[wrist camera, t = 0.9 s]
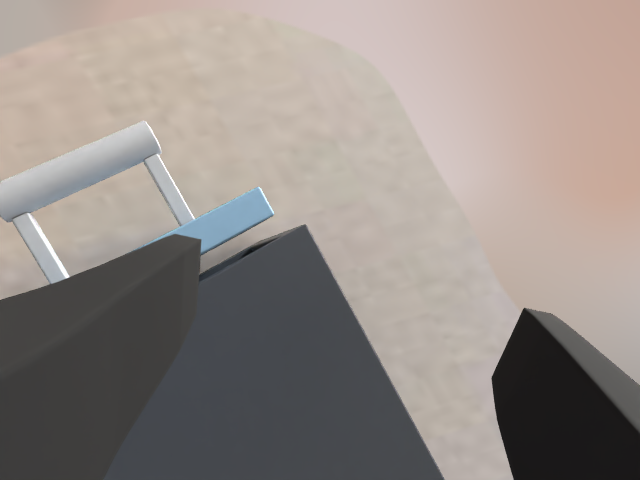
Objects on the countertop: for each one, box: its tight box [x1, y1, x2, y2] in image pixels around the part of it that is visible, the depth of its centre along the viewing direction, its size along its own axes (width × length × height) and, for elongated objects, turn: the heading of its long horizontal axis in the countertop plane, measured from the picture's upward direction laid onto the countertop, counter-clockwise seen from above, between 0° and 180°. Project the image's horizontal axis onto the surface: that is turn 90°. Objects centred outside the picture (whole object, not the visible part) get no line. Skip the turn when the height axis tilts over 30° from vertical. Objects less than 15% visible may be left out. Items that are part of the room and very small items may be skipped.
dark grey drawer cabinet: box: [103, 224, 445, 480], centre depth 20 cm, size 14×12×9 cm
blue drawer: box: [0, 121, 274, 284], centre depth 19 cm, size 17×10×7 cm, turn 30°
